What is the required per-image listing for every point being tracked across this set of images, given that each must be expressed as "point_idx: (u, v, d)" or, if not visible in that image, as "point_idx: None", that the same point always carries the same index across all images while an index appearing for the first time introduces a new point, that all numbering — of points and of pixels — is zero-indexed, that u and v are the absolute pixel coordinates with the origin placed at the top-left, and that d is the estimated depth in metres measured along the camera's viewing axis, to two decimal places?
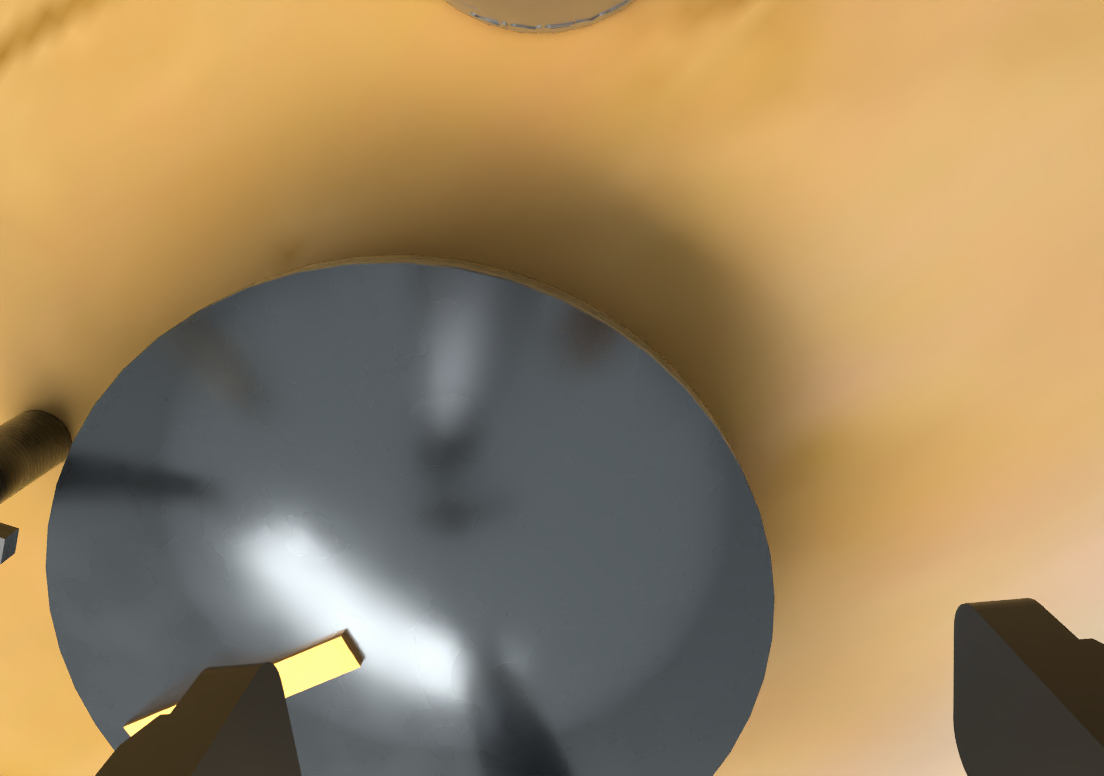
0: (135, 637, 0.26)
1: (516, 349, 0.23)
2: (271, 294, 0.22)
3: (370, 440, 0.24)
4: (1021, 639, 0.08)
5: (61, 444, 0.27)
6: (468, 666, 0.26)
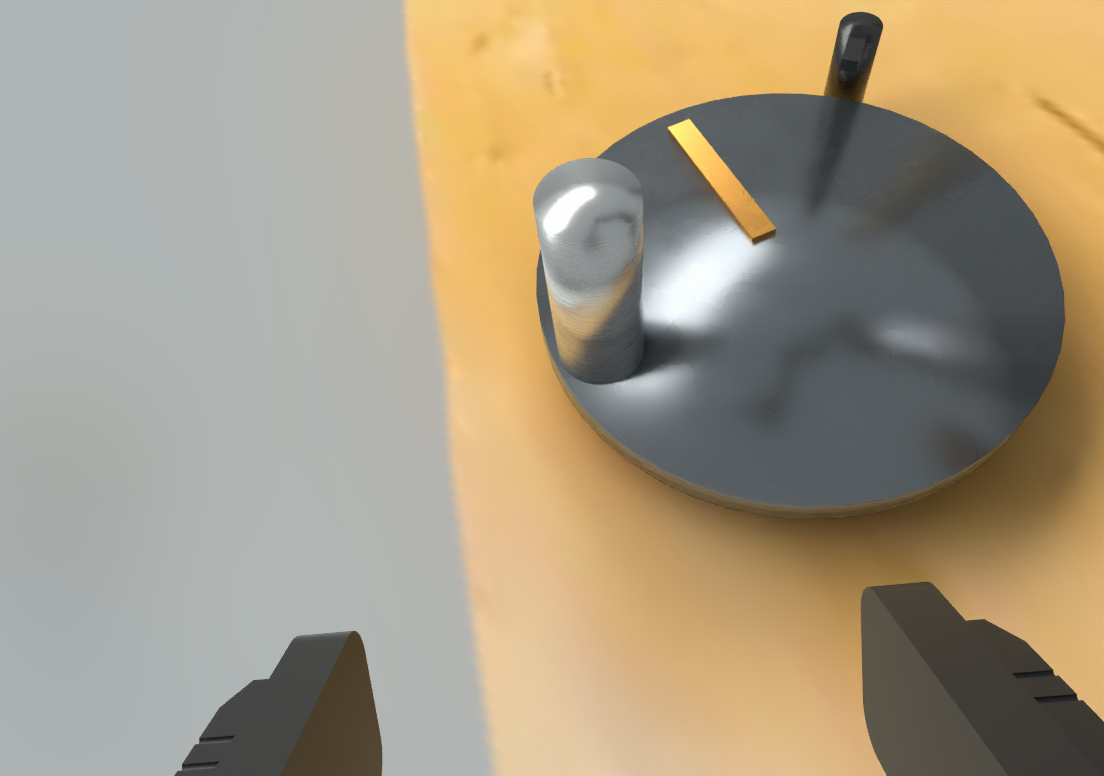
0: (756, 129, 0.41)
1: (1017, 325, 0.34)
2: (1015, 202, 0.37)
3: (927, 248, 0.36)
4: (911, 619, 0.09)
5: None
6: (756, 301, 0.36)
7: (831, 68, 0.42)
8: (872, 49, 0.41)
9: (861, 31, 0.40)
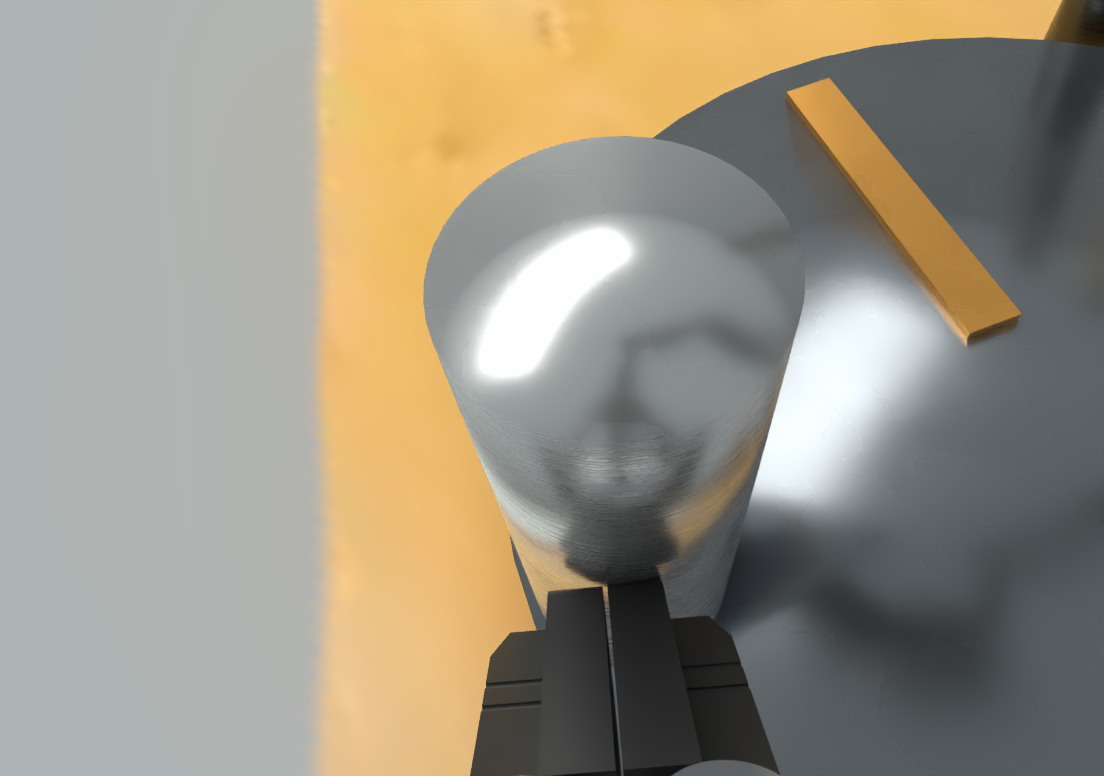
0: (961, 104, 0.21)
1: None
2: None
3: None
4: (624, 615, 0.10)
5: None
6: (986, 484, 0.16)
7: None
8: None
9: None
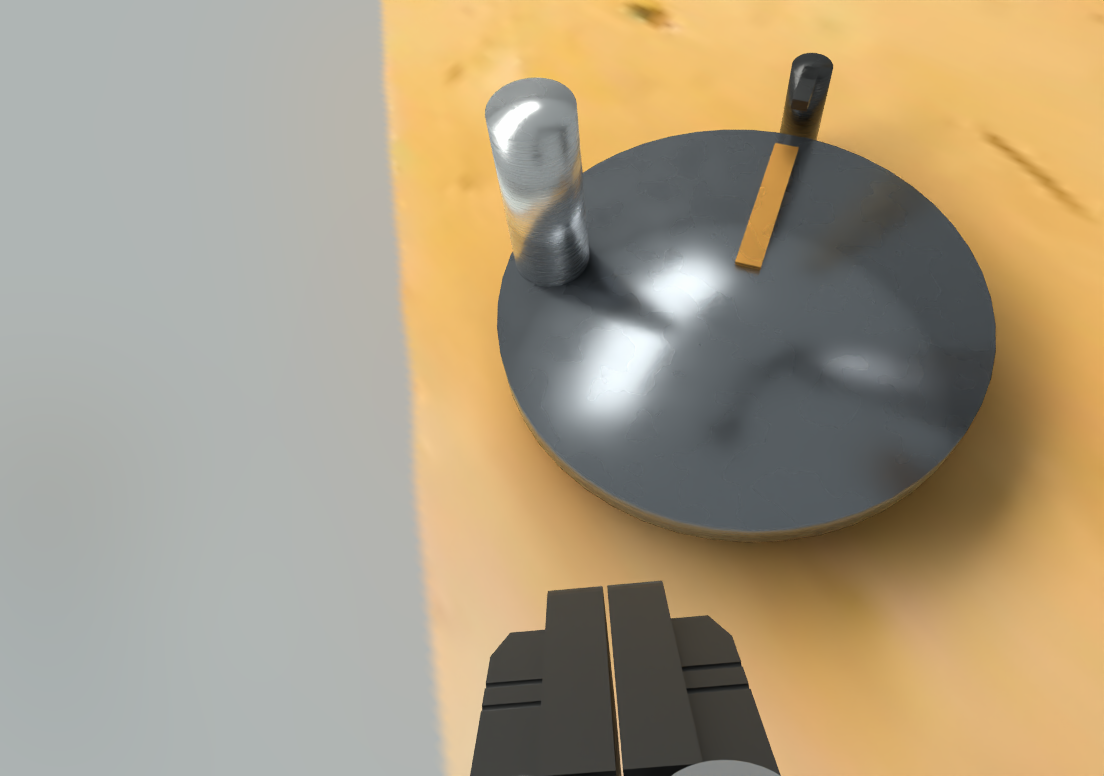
0: (840, 189, 0.41)
1: (850, 468, 0.33)
2: (977, 387, 0.35)
3: (858, 365, 0.36)
4: (624, 615, 0.10)
5: None
6: (686, 305, 0.38)
7: (786, 105, 0.44)
8: (823, 89, 0.42)
9: (812, 72, 0.42)
